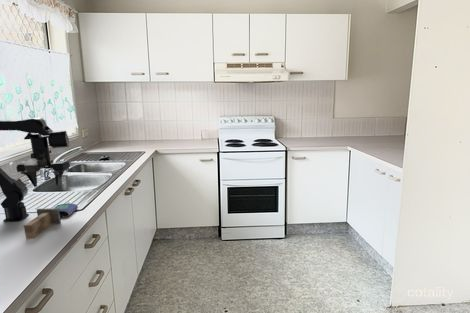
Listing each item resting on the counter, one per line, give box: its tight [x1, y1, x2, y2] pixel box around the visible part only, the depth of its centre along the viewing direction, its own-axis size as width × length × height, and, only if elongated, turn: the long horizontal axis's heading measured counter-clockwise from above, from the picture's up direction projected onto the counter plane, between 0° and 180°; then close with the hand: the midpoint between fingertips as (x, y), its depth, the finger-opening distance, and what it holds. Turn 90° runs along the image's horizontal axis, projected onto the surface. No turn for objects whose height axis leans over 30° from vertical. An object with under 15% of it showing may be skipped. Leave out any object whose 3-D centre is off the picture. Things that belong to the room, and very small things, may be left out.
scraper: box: [23, 207, 62, 240], centre depth 117 cm, size 13×8×6 cm, turn 0°
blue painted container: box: [53, 203, 79, 218], centre depth 134 cm, size 9×3×11 cm
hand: (46, 186), depth 130 cm, fingers open, 9 cm apart
